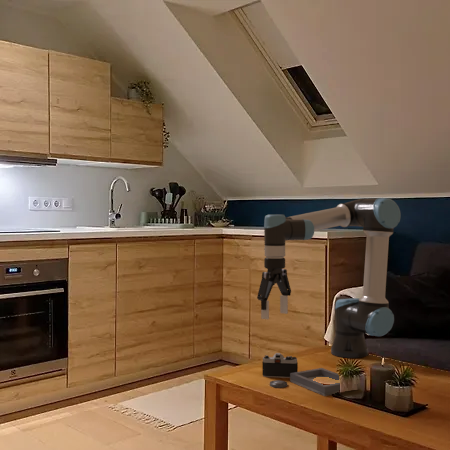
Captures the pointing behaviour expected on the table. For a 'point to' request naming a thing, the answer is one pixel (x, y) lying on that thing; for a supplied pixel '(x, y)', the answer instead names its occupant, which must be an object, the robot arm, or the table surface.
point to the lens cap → (278, 384)
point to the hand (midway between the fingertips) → (274, 316)
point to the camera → (279, 366)
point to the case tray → (307, 381)
